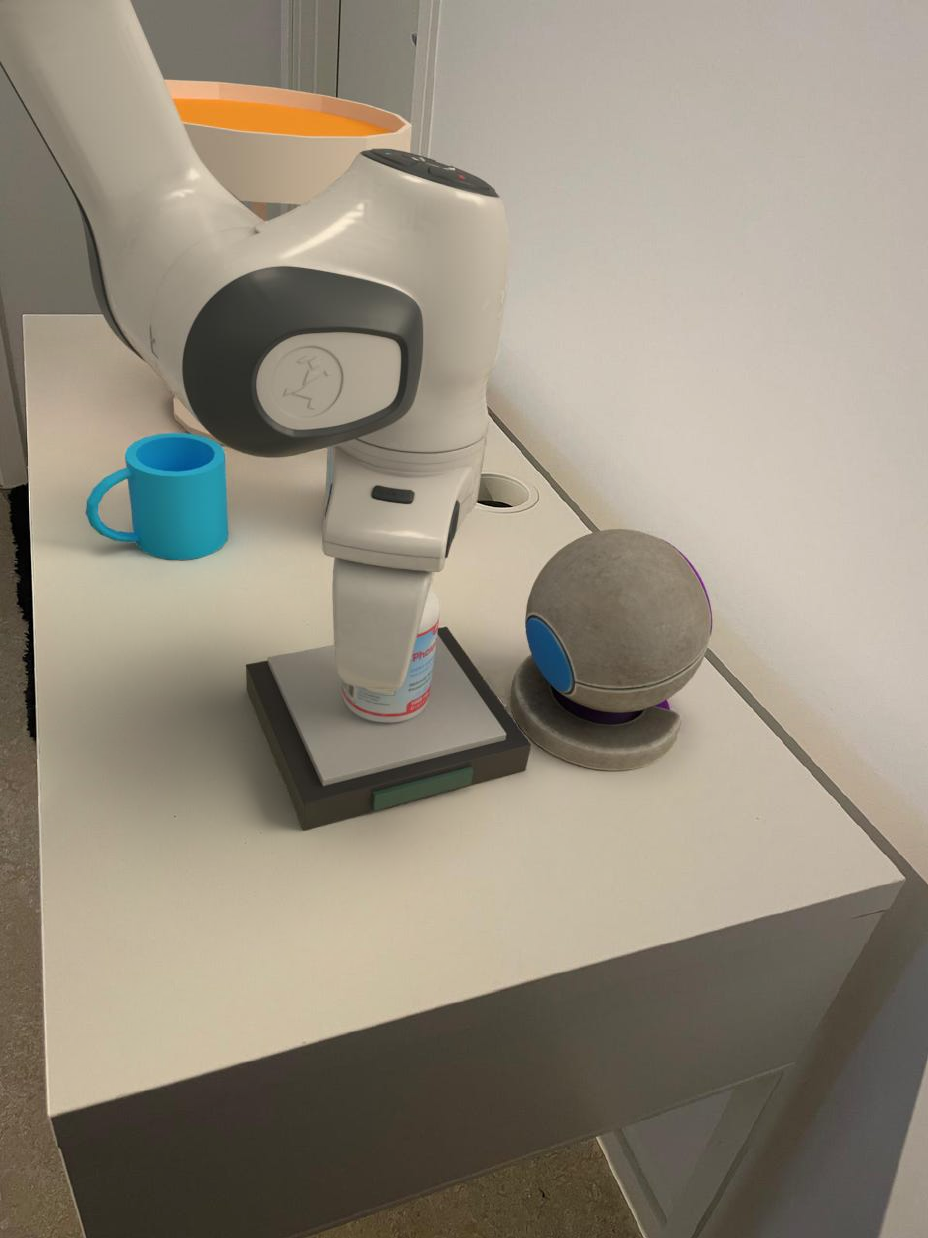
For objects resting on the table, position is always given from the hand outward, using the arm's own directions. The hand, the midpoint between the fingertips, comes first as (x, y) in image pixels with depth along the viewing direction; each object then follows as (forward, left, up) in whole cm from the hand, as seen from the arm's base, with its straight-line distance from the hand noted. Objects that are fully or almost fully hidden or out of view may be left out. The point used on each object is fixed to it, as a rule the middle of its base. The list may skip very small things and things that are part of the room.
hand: (389, 651), depth 60 cm
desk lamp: (+6, +54, -7) cm, 55 cm away
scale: (0, 0, -7) cm, 7 cm away
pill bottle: (0, 0, -4) cm, 4 cm away
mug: (-10, +29, -7) cm, 32 cm away
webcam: (+16, -3, -7) cm, 18 cm away
